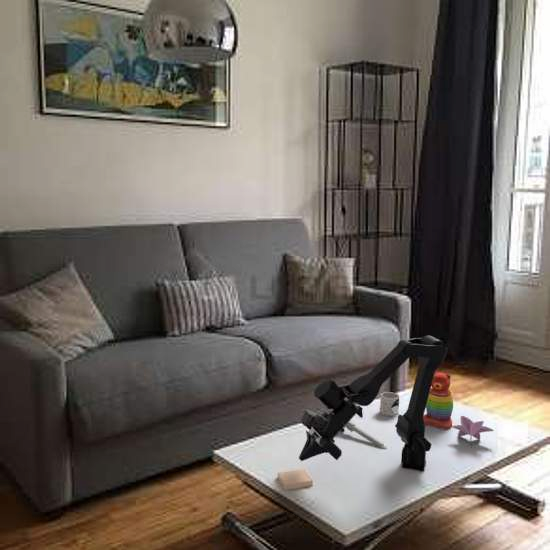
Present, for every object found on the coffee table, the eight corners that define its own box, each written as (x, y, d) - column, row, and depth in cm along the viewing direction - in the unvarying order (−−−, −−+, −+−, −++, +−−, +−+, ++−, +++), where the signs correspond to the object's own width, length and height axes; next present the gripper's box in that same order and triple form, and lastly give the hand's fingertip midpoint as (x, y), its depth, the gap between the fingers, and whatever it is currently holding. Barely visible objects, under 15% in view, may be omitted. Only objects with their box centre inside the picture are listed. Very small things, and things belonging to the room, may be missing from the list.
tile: (304, 469, 182) (277, 472, 179) (312, 480, 175) (285, 484, 173) (303, 475, 182) (277, 479, 180) (312, 487, 176) (285, 491, 173)
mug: (394, 417, 224) (395, 400, 223) (377, 413, 227) (377, 396, 226) (404, 408, 232) (405, 391, 231) (387, 405, 236) (388, 388, 235)
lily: (497, 450, 202) (495, 419, 205) (481, 446, 194) (479, 414, 197) (462, 450, 210) (461, 421, 213) (445, 447, 202) (444, 416, 205)
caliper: (336, 429, 214) (336, 412, 212) (338, 429, 214) (338, 411, 213) (384, 450, 199) (385, 431, 198) (386, 449, 200) (387, 430, 199)
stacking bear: (417, 423, 220) (420, 374, 217) (428, 414, 228) (431, 366, 225) (447, 430, 214) (451, 380, 211) (457, 421, 222) (461, 372, 219)
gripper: (308, 389, 184) (271, 429, 183) (332, 413, 167) (291, 457, 165) (332, 412, 188) (296, 451, 186) (358, 438, 170) (319, 481, 169)
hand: (300, 459), depth 177 cm, fingers closed
